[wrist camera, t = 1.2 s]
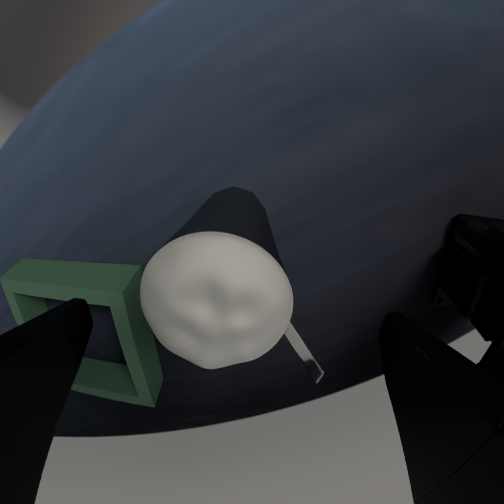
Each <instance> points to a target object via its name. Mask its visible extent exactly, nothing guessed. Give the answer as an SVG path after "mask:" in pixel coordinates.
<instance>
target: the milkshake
mask: <svg viewBox="0 0 504 504" xmlns="http://www.w3.org/2000/svg"><path fill="white" fill-rule="evenodd" d="M140 300H141V307H142V310H143V313H144V316H145V318H146V320H147V322H148V324H149V326H150V327H151V329H152V331H153V333H154V334H155V336H156V337H157V339H158V340H159V341H160V343H161V344H162V345H163V346H164V347H166V348H167V349H168V350H170V351H171V352H173V353H174V354H176V355H178V356H180V357H182V358H184V359H186V360H188V361H190V362H192V363H194V364H196V365H198V366H200V367H203V368H206V369H216V368H221V367H225V366H229V365H233V364H237V363H242V362H247V361H251V360H254V359H256V358H258V357H260V356H262V355H263V354H265V353H266V352H267V351H269V350H270V349H271V348H272V347H273V346H274V345H275V344H276V343H277V342H278V341H279V339H280V338H281V337H282V335H283V334H285V336H286V337H287V339H288V340H289V342H290V343H291V345H292V347H293V348H294V350H295V351H296V353H297V354H298V356H299V358H300V359H301V361H302V362H303V364H304V365H305V367H306V369H307V370H308V372H309V373H310V375H311V376H312V378H313V379H314V381H315V382H316V383H318V382H319V380H320V379H321V378H322V376H323V375H324V372H323V370H322V368H321V367H320V365H319V364H318V362H317V361H316V359H315V358H314V356H313V355H312V353H311V352H310V350H309V349H308V347H307V346H306V344H305V343H304V341H303V340H302V339H301V337H300V336H299V334H298V333H297V331H296V330H295V328H294V327H293V325H292V324H291V322H290V319H291V315H292V310H293V294H292V289H291V286H290V283H289V280H288V278H287V275H286V272H285V270H284V267H283V264H282V261H281V259H280V256H279V253H278V250H277V248H276V244H275V241H274V237H273V234H272V231H271V227H270V224H269V221H268V217H267V214H266V211H265V208H264V207H263V205H262V204H261V203H260V201H259V200H258V199H257V197H256V196H255V195H254V193H253V192H249V191H246V190H243V189H240V188H237V187H231V188H228V189H225V190H222V191H219V192H215V193H214V194H213V195H212V196H211V197H210V198H209V199H208V200H207V202H206V203H205V204H204V205H203V206H202V207H201V208H200V209H199V210H198V211H197V212H196V214H195V215H194V216H193V217H192V218H191V219H190V220H189V221H188V222H187V223H186V224H185V225H184V226H183V227H182V228H181V229H180V230H179V231H178V232H177V233H176V234H175V235H174V236H173V237H172V238H171V239H170V240H169V241H168V242H167V243H166V244H165V245H164V246H163V247H162V248H161V249H160V250H159V251H158V252H157V253H156V254H155V255H154V256H153V257H152V258H151V260H150V261H149V262H148V264H147V266H146V268H145V270H144V273H143V276H142V280H141V286H140Z"/></svg>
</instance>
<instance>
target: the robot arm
mask: <svg viewBox="0 0 504 504" xmlns="http://www.w3.org/2000/svg"><path fill="white" fill-rule="evenodd" d="M461 221H462V224H461V225H460V222H461ZM431 302H432V303H433V305H434V306H435V307H444V306H456V307H457V309H458V310H459V311H460V312H461V314H462V315H463V316H464V317H465V319H466V320H469V321H470V322H471V323H472V324H473V326H474V327H475V328H476V330H477V331H478V332H479V334H480V335H481V336H482V337H483V339H484V340H485V341H491V345H490V346H489V348H488V350H487V351H486V353H485V354H484V356H483V357H482V359H481V360H480V362H479V363H477V364H475V363H473V362H472V361H471V360H469V359H468V358H466V357H465V356H463V355H462V354H460V353H459V352H458V351H456V350H455V349H453V348H452V347H450V346H449V345H447V344H446V343H444V342H443V341H441V340H440V339H438V338H437V337H436V336H434V335H433V334H431V333H430V332H428V331H427V330H425V329H424V328H422V327H421V326H419V325H418V324H416V323H415V322H413V321H412V320H410V319H409V318H407V317H406V316H404V315H403V314H401V313H399V312H389V313H387V314H386V315H385V317H384V319H383V322H382V326H381V329H380V332H379V335H378V343H379V348H380V353H381V358H382V364H383V370H384V376H385V381H386V385H387V389H388V393H389V396H390V400H391V404H392V407H393V411H394V415H395V418H396V422H397V427H398V430H399V434H400V438H401V443H402V447H403V452H404V456H405V461H406V465H407V470H408V474H409V480H410V484H411V490H412V495H413V502H414V503H415V504H504V220H500V219H494V218H487V217H480V216H473V215H466V214H458V215H457V216H456V217H455V219H454V222H453V226H452V230H451V234H450V238H449V242H448V246H447V250H446V253H445V257H444V260H443V264H442V267H441V270H440V273H439V277H438V280H437V283H436V286H435V289H434V292H433V295H432V298H431ZM92 328H93V320H92V316H91V313H90V310H89V306H88V303H87V301H86V300H85V299H81V298H73V299H71V300H69V301H67V302H64V303H62V304H60V305H58V306H56V307H54V308H52V309H50V310H48V311H46V312H44V313H43V314H41V315H39V316H37V317H35V318H33V319H31V320H29V321H27V322H25V323H23V324H21V325H19V326H17V327H15V328H13V329H11V330H9V331H8V332H6V333H4V334H2V335H0V504H34V503H35V500H36V495H37V491H38V488H39V484H40V480H41V475H42V472H43V469H44V465H45V462H46V459H47V455H48V452H49V449H50V446H51V443H52V440H53V437H54V434H55V431H56V428H57V425H58V422H59V419H60V416H61V414H62V411H63V408H64V406H65V403H66V400H67V398H68V395H69V393H70V390H71V388H72V385H73V383H74V380H75V378H76V375H77V373H78V370H79V368H80V365H81V362H82V359H83V356H84V352H85V349H86V346H87V343H88V340H89V337H90V334H91V331H92Z"/></svg>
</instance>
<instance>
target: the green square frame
mask: <svg viewBox="0 0 504 504" xmlns="http://www.w3.org/2000/svg"><path fill="white" fill-rule="evenodd" d="M141 280H142V269H141V265H129V264H110V263H93V262H76V261H60V260H44V259H30V258H23V259H22V260H20V261H19V262H18V263H17V264H16V265H14V266H13V267H12V268H11V269H10V270H8V271H7V272H6V273H5V274H4V275H3V276H1V277H0V281H1V284H2V287H3V289H4V292H5V295H6V298H7V300H8V303H9V305H10V308H11V310H12V313H13V315H14V318H15V320H16V322H17V325H18V326H19V325H21V324H23V323H25V322H27V321H29V320H31V319H33V318H35V317H37V316H39V315H41V314H43V313H44V312H46V311H48V307H47V305H46V302H45V299H44V298H50V299H57V300H64V301H69V300H71V299H73V298H81V299H85V300H86V301H87V303H88V304H95V305H104V306H110V309H111V312H112V316H113V320H114V323H115V327H116V330H117V334H118V337H119V341H120V344H121V347H122V350H123V353H124V357H125V360H126V363H127V365H125V364H119V363H113V362H107V361H102V360H96V359H91V358H86V357H83V359H82V362H81V365H80V368H79V370H78V373H77V375H76V378H75V380H74V383H73V385H72V388H71V390H74V391H78V392H82V393H86V394H90V395H94V396H98V397H103V398H107V399H112V400H117V401H122V402H127V403H132V404H138V405H143V406H150V407H155V405H156V401H157V398H158V395H159V391H160V388H161V385H162V382H163V374H162V370H161V365H160V361H159V357H158V353H157V348H156V344H155V339H154V335H153V331H152V329H151V327H150V326H149V324H148V322H147V320H146V318H145V316H144V313H143V310H142V307H141V300H140V286H141Z"/></svg>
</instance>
